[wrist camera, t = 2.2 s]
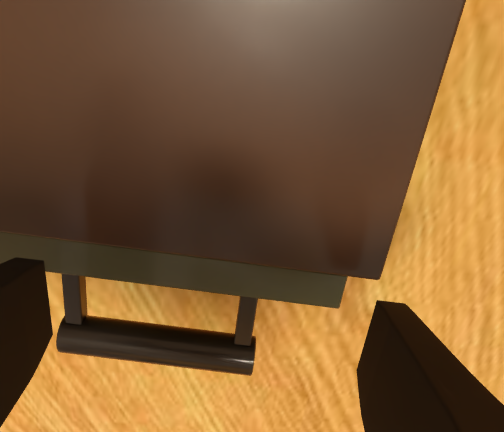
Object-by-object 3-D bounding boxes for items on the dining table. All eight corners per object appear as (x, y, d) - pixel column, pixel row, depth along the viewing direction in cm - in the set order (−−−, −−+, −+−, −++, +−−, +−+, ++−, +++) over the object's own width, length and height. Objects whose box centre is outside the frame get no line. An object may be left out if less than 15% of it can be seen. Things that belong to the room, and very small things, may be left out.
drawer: (299, 297, 21) (310, 418, 15) (63, 267, 21) (-20, 377, 15) (407, -202, 13) (519, -362, 7) (20, -259, 13) (-199, -473, 7)
